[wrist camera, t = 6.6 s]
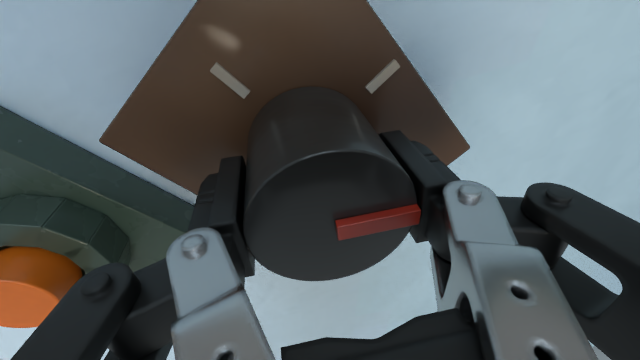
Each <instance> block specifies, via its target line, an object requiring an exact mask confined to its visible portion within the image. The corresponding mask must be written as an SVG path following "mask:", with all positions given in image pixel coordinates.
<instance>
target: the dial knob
mask: <svg viewBox="0 0 640 360" xmlns="http://www.w3.org/2000/svg"><path fill="white" fill-rule="evenodd" d="M420 215H421V209H420V208H419V206H418V205H417V196H416V191H415V188H414V184H413V182H412V181H411V179H410V177H409V175H408V174H407V173H406V171H405V170H404V169H403V167H402V166H401V165H400V163H399V162H398V161H397V159H396V158H395V157H394V155H393V154H392V153H391V151H390V150H389V149H388V147H387V146H386V145H385V143H384V142H383V140H382V139H381V138H380V136H379V135H378V134H377V132H376V131H375V130H374V128H373V127H372V126H371V124H370V123H369V122H368V120H367V119H366V118H365V116H364V115H363V114H362V112H361V111H360V110H359V108H358V107H357V106H356V105H355V104H354V103H353V102H352V101H351V100H350V99H349V98H347V97H346V96H344V95H343V94H341V93H339V92H337V91H335V90H331V89H328V88H323V87H312V86H309V87H300V88H296V89H292V90H289V91H286V92H284V93H282V94H280V95H278V96H276V97H275V98H273V99H272V100H271V101H269V102H268V103H267V104H266V105H265V106H264V107H263V108H262V109H261V110H260V112H259V113H258V114H257V116H256V117H255V119H254V121H253V123H252V125H251V128H250V132H249V136H248V147H247V163H246V179H245V195H244V211H243V236H244V239H245V243H246V245H247V247H248V249H249V251H250V253H251V254H252V255H253V257H254V258H255V259H256V260H257V261H258V262H259V263H260V264H261V265H263V266H264V267H265V268H267V269H268V270H270V271H272V272H274V273H276V274H278V275H281V276H283V277H287V278H291V279H296V280H302V281H325V280H333V279H338V278H343V277H346V276H350V275H353V274H356V273H358V272H361V271H363V270H365V269H367V268H369V267H371V266H373V265H375V264H376V263H378V262H380V261H381V260H383V259H384V258H385V257H387V256H388V255H389V254H390V253H392V252H393V251H394V250H395V249H396V248H397V247H398V246H399V245H400V243H401V242H402V241H403V240H404V238H405V237H406V236H407V234H408V232H409V231H410V229H411V227H412V225H417V224H419V222H420Z"/></svg>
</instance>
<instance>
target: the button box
mask: <svg viewBox="0 0 640 360" xmlns="http://www.w3.org/2000/svg"><path fill="white" fill-rule="evenodd" d="M193 210H194V206H193V205H191V204H189V203H187V202H185V201H183V200H181V199H179V198H177V197H175V196H173V195H171V194H169V193H167V192H165V191H164V190H162V189H160V188H158V187H156V186H154V185H152V184H150V183H148V182H146V181H144V180H142V179H140V178H138V177H136V176H134V175H133V174H131V173H129V172H127V171H125V170H123V169H121V168H119V167H117V166H115V165H113V164H111V163H109V162H107V161H105V160H103V159H102V158H100V157H98V156H96V155H94V154H92V153H90V152H88V151H86V150H84V149H82V148H80V147H78V146H76V145H74V144H73V143H71V142H69V141H67V140H65V139H63V138H61V137H59V136H57V135H55V134H53V133H51V132H49V131H47V130H45V129H43V128H42V127H40V126H38V125H36V124H34V123H32V122H30V121H28V120H26V119H24V118H22V117H20V116H18V115H16V114H14V113H13V112H11V111H9V110H7V109H5V108H3V107H1V106H0V250H2V249H5V248H8V247H13V246H19V247H39V248H42V249H45V250H48V251H51V252H54V253H57V254H60V255H63V256H66V257H68V258H69V259H70V260H71V261H73V262H74V263H75V264H77V265H78V266H79V267H80V268H81V270H82V277H83V276H84V275H86V274H87V273H89V272H90V271H92V270H94V269H96V268H98V267H100V266H103V265H106V264H110V263H124V264H126V265H128V266H129V267H130V269H131V270H132V271H133V272H135V271H137V270H140V269H142V268H144V267H147V266H149V265H151V264H154V263H156V262H158V261H160V260H162V259H164V258H166V254H167V251H168V248H169V247H170V245H171V244H172V243H173V242H174V241H175V240H176V239H177V238H178V237H180V236H181V235H183V234H184V233H186V232H187V231H188V228H189V224H190V220H191V217H192V213H193Z"/></svg>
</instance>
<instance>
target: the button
mask: <svg viewBox="0 0 640 360" xmlns="http://www.w3.org/2000/svg"><path fill="white" fill-rule="evenodd" d="M80 278H82V270H81V268H80V267H79V266H78V265H77V264H75V263H74V262H73V261H71V260H70V259H69V258H68V257H66V256H63V255H60V254H57V253H54V252H51V251H48V250H45V249H42V248H39V247H19V246H13V247H8V248H5V249H2V250H0V326H3V327H11V328H30V327H38V326H39V325H40V324H41V323H42V322H43V320H44V319H45V318H46V317H47V316H48V314H49V313H50V312H51V311H52V310H53V309H54V307H55V306H56V305H57V304H58V303H59V301H60V300H61V299H62V298H63V297H64V295H65V294H66V293H67V292H68V291H69V289H70V288H71V287H72V286H73V285H74V284H75V283H76V282H77V281H78V280H79V279H80Z"/></svg>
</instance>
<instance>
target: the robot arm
mask: <svg viewBox="0 0 640 360" xmlns="http://www.w3.org/2000/svg"><path fill="white" fill-rule="evenodd" d="M379 136H380V138H381V139H382V140H383V142H384V143H385V145H386V146H387V147H388V149H389V150H390V151H391V153H392V154H393V155H394V157H395V158H396V159H397V161H398V162H399V163H400V165H401V166H402V167H403V169H404V170H405V171H406V173H407V174H408V175H409V177H410V179H411V181H412V182H413V184H414V188H415V191H416V196H417V205H418V206H419V208H420V209H421V215H420V222H419V224H417V225H412V227H411V229H410V231H409V232H410V234H411V235H412V237H413V239H414V240H415V242H416V243H419V242H424V241H429V242H430V244H431V251H430V259H431V266H432V273H433V280H434V287H435V293H436V300H437V312H435V313H431V314H427V315H422V316H418V317H415V318H413V319H411V320H410V321H408V322H406V323H404V324H403V325H401V326H399V327H397V328H395V329H394V330H392V331H390V332H388V333H387V334H385V335H383V336H381V337H379V338H377V339H351V338H329V337H326V338H321V339H317V340H312V341H308V342H304V343H299V344H295V345H291V346H286V347H282V348H281V358H282V360H598V358H597V356H596V354H595V352H594V350H593V348H592V347H591V345H590V343H589V341H590V342H591V343H592V344H594V345H595V346H596V347H597V348H598V349H600V350H601V351H602V352H603V353H604V354H606V355H607V356H608V357H609V358H610V359H611V360H640V223H639V222H637V221H635V220H633V219H631V218H629V217H627V216H625V215H623V214H621V213H619V212H617V211H615V210H613V209H611V208H609V207H607V206H605V205H603V204H601V203H599V202H597V201H595V200H593V199H591V198H589V197H587V196H585V195H583V194H581V193H579V192H577V191H575V190H573V189H571V188H568V187H566V186H562V185H559V184H554V183H536V184H533V185H531V186H529V187H528V189H527V191H526V193H525V196H524V198H522V197H498V196H496V195H495V193H494V192H493V191H492V190H491V189H489V188H488V187H486V186H484V185H482V184H480V183H477V182H473V181H466V180H460V179H459V178H458V177H457V176H456V175H455V174H454V173H453V172H452V171H451V170H450V169H449V168H448V167H447V166H446V165H445V164H444V163H443V162H442V161H440V159H439V158H438V157H437V156H436V155H434V153H433V152H432V151H431V150H430V149H429V148H428V147H427V146H425V145H423V144H421V143H419V142H417V141H415V140H413V141H410V140H409V139H408V138H407V137H406V136H405V135H404V134H403V133H402V132H401V131H400V130H396V131H389V132H383V133H380V134H379ZM245 179H246V164H245V160H244V158H243V156H242V155H241V156H234V157H228V158H222V159H221V162H220V167H219V172H218V173H215V174H209V175H208V176H207V177H206V178H205V180H204V181H203V182H202V183H201V185H200V188H199V192H198V196H197V199H196V204H195V206H194V210H193V213H192V217H191V220H190V224H189V228H188V231H187V232H186V233H184V234H183V235H181V236H180V237H178V238H177V239H176V240H175V241H174V242H173V243H172V244H171V245H170V247H169V248H168V251H167V254H166V258H164V259H162V260H160V261H158V262H156V263H154V264H151V265H149V266H147V267H144V268H142V269H140V270H137V271H135V272H133V271H132V270H131V269H130V267H129V266H128V265H126V264H124V263H110V264H106V265H103V266H100V267H98V268H96V269H94V270H92V271H90V272H89V273H87V274H86V275H84V276H83V277H82V278H80V279H79V280H78V281H77V282H76V283H75V284H74V285H73V286H72V287H71V288H70V289H69V291H68V292H67V293H66V294H65V295H64V297H63V298H62V299H61V300H60V301H59V303H58V304H57V305H56V306H55V307H54V309H53V310H52V311H51V312H50V313H49V314H48V316H47V317H46V318H45V319H44V320H43V322H42V323H41V324H40V325H39V326H38V328H37V329H36V330H35V331H34V332H33V333H32V335H31V336H30V337H29V338H28V339H27V341H26V342H25V343H24V344H23V345H22V347H21V348H20V349H19V350H18V351H17V353H16V354H15V355H14V356H13V357H12V358H11V360H100V359H101V358H102V356H103V354H104V353H105V351H106V349H107V348H108V349H109V352H108V354H107V355H106V357H105V359H104V360H166V358H167V356H168V354H169V352H170V349H171V347H172V345H173V347H174V354H175V360H275V357H274V355H273V353H272V351H271V348H270V346H269V344H268V341H267V339H266V337H265V335H264V332H263V330H262V328H261V325H260V323H259V321H258V319H257V316H256V314H255V312H254V310H253V307H252V305H251V303H250V300H249V298H248V296H247V294H246V291H245V289H244V282H245V277H249V276H254V273H255V258H254V257H253V255H252V254H251V253H250V251H249V249H248V247H247V245H246V243H245V239H244V236H243V211H244V195H245ZM568 244H569V245H571V246H572V247H574V248H575V249H577V250H578V251H580V252H581V253H583V254H585V255H586V256H588V257H589V258H591V259H592V260H594V261H595V262H597V263H598V264H600V265H602V266H603V267H605V268H606V269H608V270H609V271H611V272H612V273H613V274H615V275H616V276H617V278H618V279H619V280H620V282H621V284H622V288H623V290H622V292H621V294H620V295H617V294H615V293H613V292H611V291H610V290H608V289H607V288H605V287H604V286H602V285H601V284H600V283H598V282H597V281H595V280H594V279H592V278H591V277H589V276H588V275H587V274H585V273H584V272H582V271H581V270H579V269H578V268H577V267H575V266H574V265H572V264H571V263H569V262H568V261H566V260H565V259H564V258H562V257H561V256H562V254H563V252H564V251H565V249H566V248H567V246H568ZM588 340H589V341H588Z"/></svg>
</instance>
